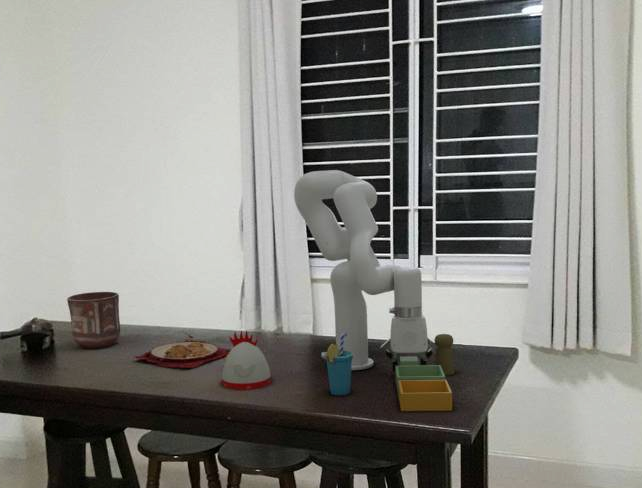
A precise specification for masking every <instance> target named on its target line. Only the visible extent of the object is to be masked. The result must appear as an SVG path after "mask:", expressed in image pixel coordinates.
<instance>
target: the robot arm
mask: <svg viewBox="0 0 642 488" xmlns="http://www.w3.org/2000/svg"><path fill="white" fill-rule="evenodd" d="M293 193H294V194H293V198H294V203H295V206H296V208H297V210H298V212H299V214H300V215H301V217H302V219H303V220H304V222H305V223H306V225H307V227H308V229H309V231H310V234H311V235H312V238H313V240H314V241H315V243H316V245H317V248H318V249H319V251H320V254H321V255H322V256H323V258H324V259H325V260H327V261H329V262H337V261H338V262H339V261H342V262H340V263H338V264H337V265H335V266H334V267H333V268H332V270H331V272H330V276H329V283H330V287H331V292H332V296H333V306H334V324H335V325H334V328H335V330H334V331H335V345H338V349H339V350H340V343H341V335H342V334H345V333H346V334H347V336H345V337H344V343H343V350H344V351H350V352H352V354H353V359H352V366H351V371H361V370H367V369H370V368H372V367H373V366H374V364H375V362H374V360H373V359H372V358H369V336H368V335H369V334H368V306H367V302H366V299H365V297H364V295H363V292H364V293H365V294H367V295H369V296H376V295H377V296H378V295H381V294H384V293H390V292H392V291H393V295H394V296H393V299H394V301H393V302H394V303H393V304H394V306H392V307H390V308H389V309H388V312H389V314H393V316H392V317H391V322H390V334H389V335H390V337H389V338H388V339H387V340H386V341H385V342H384V343H383V344H382V345H381V346H380V347H379V348H380V351H382V353H383V354H385V356H386V357H387V358H389V360H390V361H391V366H392V372H393V373H394V376H396V373H395V366H399V361H398V358H399V354H419V355H420V356H421V357H420V359H419V363H420V365H427V361H428V360H429V359H430V358H431V357H432V355H433V354H435V353H436V350H437V348H438V346H437V345H436V344H435V341H433V340H431V338H429V337H428V327H427V321H426V317H425V316H424V315H423V298H422V297H423V295H422V294H423V293H422V292H423V291H422V290H423V289H422V288H423V287H422V282H423V281H422V271H421V269H419V268H417V267H412V266H411V267H410V266H405V267H403V266H399V265H395V264H385V265H384V264H383V265H381V264H380V261H379V259H378V258H377V256H376V254H375V252H374V249H373V248H372V246H371V243H372V240H373V238H374V237H375V236H376V235H377V233H378V231H379V226H378V224H377V222H376V220H375V218H374V215H373V213H372V211H371V209H372V208H374V207H375V206H376V204H377V201H378V194H377V191H376V188H375V187H374V186H373V185H372V184H371V183H370V182H368V181H366V180H364V179H361V178H360V177H357V176H354V175H353V174H350V173H347V172H345V171H342V170H339V169H332V170H331V169H329V170H315V171H310V172H307V173H304V174H302V175H301V176H300V177H299V178H298V179H297V181H296V183H295V185H294V191H293ZM330 199H333V203H334V205H335V207H336V210H337V212H338V214H339V216H340V219H341V221H342V223H343V225H344V227H342V226H341V225H340V224H339V221H338V220H337V218H336V216H335V214H334V212H333V211H332V209H330V207H328V206H327V205H326V204H325V202H323V200H330ZM343 260H346V261H343ZM389 347H390V350H391V351H390V350H389V349H388V348H389ZM429 347H430V348H429ZM325 353H327V351H326V352H325V351H322V352H321V354H320V355H321V359H324V360H325V361H327V360H326V358H325Z"/></svg>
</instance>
